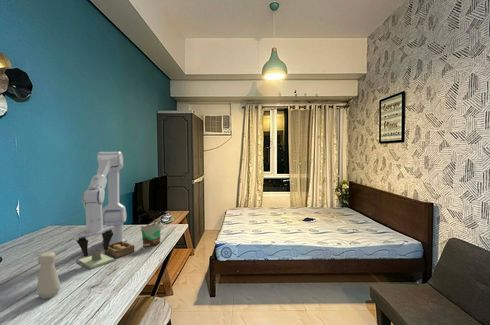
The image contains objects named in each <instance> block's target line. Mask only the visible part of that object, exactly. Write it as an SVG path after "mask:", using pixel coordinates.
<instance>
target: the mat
mask: <svg viewBox="0 0 490 325" xmlns="http://www.w3.org/2000/svg"><path fill="white" fill-rule="evenodd" d="M116 261H117V258H114V260H112V261H109V262H106V263H104V264H101V265H98V266H95V267H92V268H90V267H88V266H87V265H85V264H83V263H81V262H79V260H77V261H75V262H76V264H79V265H80V266H82V267H84V268H85V269H88V271H89V270H90V271H91V270H93V269H96V268H99V267H102V266H105V265H108V264H110V263H114V262H116Z"/></svg>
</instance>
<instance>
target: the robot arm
mask: <svg viewBox="0 0 490 325" xmlns="http://www.w3.org/2000/svg"><path fill="white" fill-rule="evenodd" d="M96 160H97V164H98V168H97V170H96V174H95V175H93V176H92V178H91V181H90V183H89V186H88V187H87V189H86V190H85V191H83V192H82V196H81V202H82V204H83V209H85V222H86V224H85V225H86V230H85V231H81V232H79V233H76V234H73V241H76V243H77V244H78V246H79V248H80V249H81V251H82V255H83V257H84V258H86V257H89V256H88V255H89V254H88V253H89V252H88V246H89V240H88V239H87V238H90V237H93V236H94V237H95V236H97V235H101V236H102V241H101V242H102V245H103V246H102V247H103V250H106V251H107V250H108V246H109V245H110V244H113V243H117V242H120V241H124V242H127V241H128V239H127V238H126V239H125V238H124V223H125V222H126V221H127V215H128V214H127V211H126V210H127V209H126V206H125V205H123V204H122V203H120V170H122V169H123V168H124V155H123V152H121V151H99V152H98V153H97V156H96ZM107 175H108V178H107ZM106 186H108V187H107V189H108V191H107V192H108V193H107V194H108V195H107V196H108V197H107V198H108V199H107V201H108V202H107V205H105V206H104V207H103V203H104V200H105V194H106V193H105V192H106V191H105V189H106Z"/></svg>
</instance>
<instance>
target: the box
mask: <svg viewBox="0 0 490 325" xmlns="http://www.w3.org/2000/svg"><path fill="white" fill-rule="evenodd" d="M103 250H104V249H103ZM133 253H135V244H132V243H129V242H127V241H125V242H124V241H120V242H117V243H113V244H110V245H109V246H108V250H107V251H106V250H104V253H103V254H105V255H107V256H110V257H112V258H114V259H118V258H121V257H124V256H127V255H130V254H133Z"/></svg>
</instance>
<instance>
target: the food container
mask: <svg viewBox="0 0 490 325" xmlns="http://www.w3.org/2000/svg"><path fill="white" fill-rule="evenodd" d="M162 227H163V224H162V222H161V220H159V219H154V221H153V222H151V223H148V224H147V225H146V226H145V225H144V226H143V225H142V226H141V227H140V232H141V236H142V247H143V248H153V247H156V246H158V245H159V244H160V243H161V230H162ZM152 246H153V247H152Z"/></svg>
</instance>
